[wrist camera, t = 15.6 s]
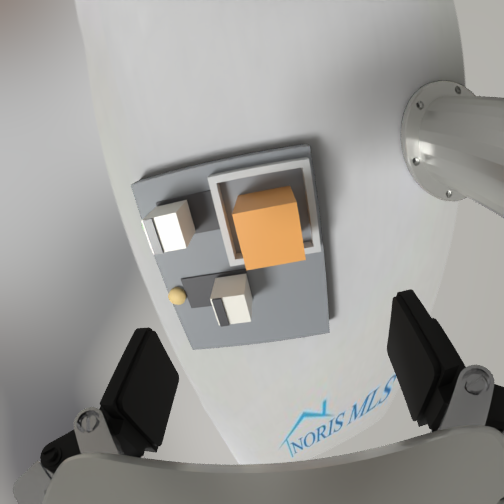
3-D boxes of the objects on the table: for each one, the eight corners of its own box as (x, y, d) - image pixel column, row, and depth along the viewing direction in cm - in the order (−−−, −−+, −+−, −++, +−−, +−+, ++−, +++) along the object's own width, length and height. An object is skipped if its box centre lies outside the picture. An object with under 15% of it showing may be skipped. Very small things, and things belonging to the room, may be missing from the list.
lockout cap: (298, 233, 26) (305, 259, 21) (249, 242, 26) (246, 270, 22) (290, 185, 24) (296, 202, 19) (237, 195, 24) (232, 214, 20)
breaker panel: (326, 321, 33) (331, 339, 30) (195, 338, 34) (190, 356, 32) (306, 143, 24) (312, 147, 21) (139, 180, 26) (125, 188, 23)
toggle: (195, 231, 26) (186, 249, 22) (165, 237, 26) (152, 255, 23) (186, 199, 24) (175, 213, 21) (155, 206, 25) (140, 221, 21)
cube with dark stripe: (252, 299, 29) (251, 323, 25) (223, 303, 29) (218, 326, 26) (246, 273, 27) (244, 295, 24) (215, 278, 28) (209, 300, 24)
